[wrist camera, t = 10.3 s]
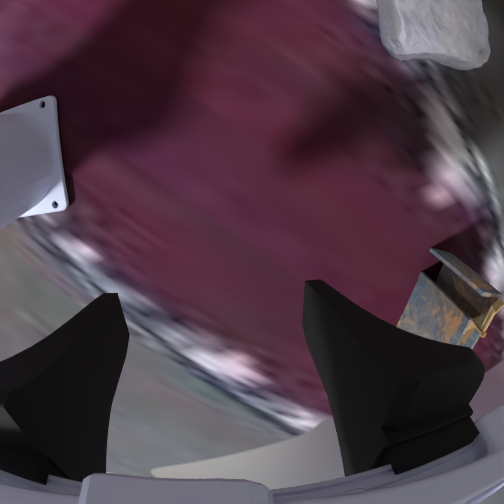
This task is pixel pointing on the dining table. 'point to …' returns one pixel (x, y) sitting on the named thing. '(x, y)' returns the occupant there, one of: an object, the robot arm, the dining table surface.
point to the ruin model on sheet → (451, 304)
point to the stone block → (435, 31)
